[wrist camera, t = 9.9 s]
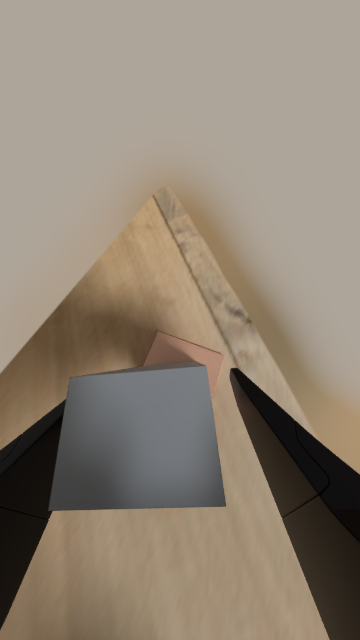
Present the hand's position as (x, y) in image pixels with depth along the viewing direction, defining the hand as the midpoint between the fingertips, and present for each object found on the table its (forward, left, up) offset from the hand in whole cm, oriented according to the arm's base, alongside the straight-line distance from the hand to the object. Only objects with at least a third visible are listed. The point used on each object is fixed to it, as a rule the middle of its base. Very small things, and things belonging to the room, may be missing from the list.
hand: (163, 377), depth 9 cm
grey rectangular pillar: (0, +1, -7) cm, 7 cm away
